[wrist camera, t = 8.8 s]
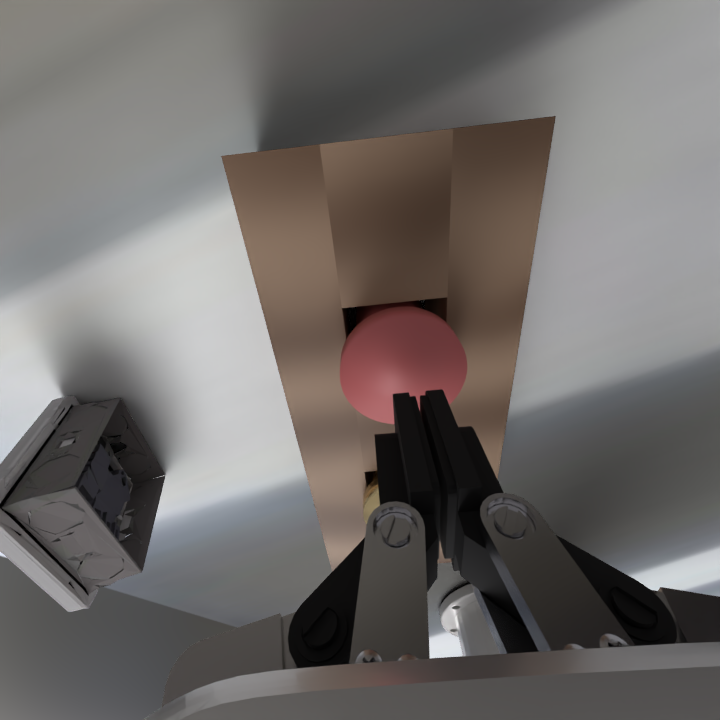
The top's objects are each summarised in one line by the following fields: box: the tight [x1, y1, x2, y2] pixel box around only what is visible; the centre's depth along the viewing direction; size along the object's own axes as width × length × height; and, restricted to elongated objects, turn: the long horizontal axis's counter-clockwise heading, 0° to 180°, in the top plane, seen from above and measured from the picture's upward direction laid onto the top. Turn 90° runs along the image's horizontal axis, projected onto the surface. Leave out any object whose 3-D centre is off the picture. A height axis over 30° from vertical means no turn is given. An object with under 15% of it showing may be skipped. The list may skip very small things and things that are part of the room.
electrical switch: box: [0, 396, 165, 612], centre depth 20 cm, size 9×5×9 cm, turn 5°
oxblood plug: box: [340, 300, 467, 424], centre depth 16 cm, size 5×5×6 cm
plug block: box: [221, 116, 556, 572], centre depth 20 cm, size 26×11×5 cm, turn 6°
